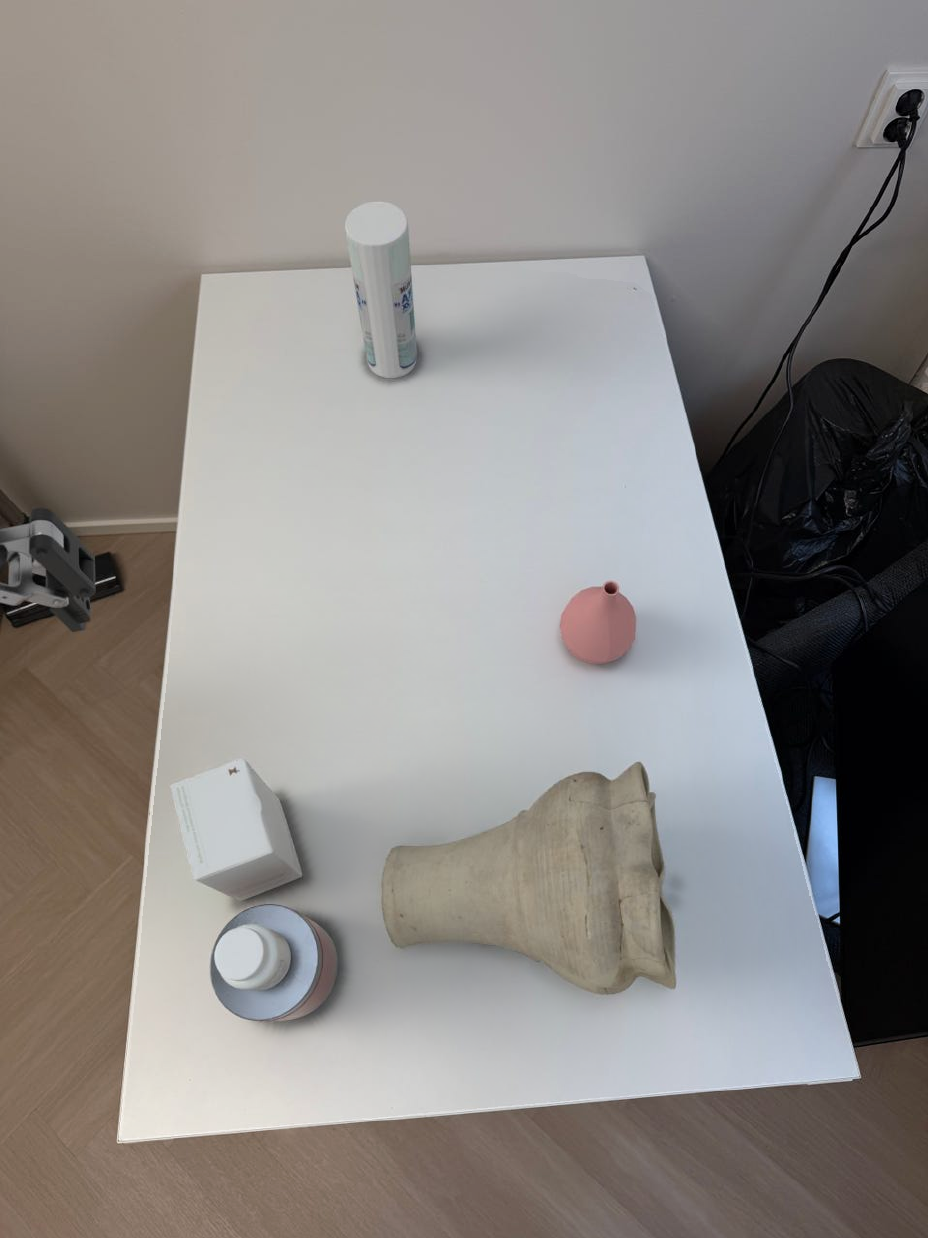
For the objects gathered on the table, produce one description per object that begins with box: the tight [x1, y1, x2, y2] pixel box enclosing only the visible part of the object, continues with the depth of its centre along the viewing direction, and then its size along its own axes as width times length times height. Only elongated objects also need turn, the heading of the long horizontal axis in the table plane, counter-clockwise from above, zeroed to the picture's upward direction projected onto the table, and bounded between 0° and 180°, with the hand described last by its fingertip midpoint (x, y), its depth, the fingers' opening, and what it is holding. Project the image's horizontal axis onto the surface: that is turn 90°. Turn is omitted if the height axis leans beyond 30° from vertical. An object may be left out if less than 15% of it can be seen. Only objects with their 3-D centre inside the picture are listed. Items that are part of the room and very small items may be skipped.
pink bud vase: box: [559, 580, 637, 665], centre depth 83 cm, size 8×8×12 cm
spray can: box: [344, 200, 418, 379], centre depth 95 cm, size 6×6×20 cm
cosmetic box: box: [169, 756, 303, 902], centre depth 72 cm, size 8×7×16 cm
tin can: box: [209, 903, 339, 1022], centre depth 70 cm, size 8×8×11 cm
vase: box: [380, 761, 677, 996], centre depth 71 cm, size 22×22×28 cm
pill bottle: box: [214, 924, 291, 990], centre depth 62 cm, size 4×4×8 cm
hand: (10, 630), depth 53 cm, fingers open, 8 cm apart
